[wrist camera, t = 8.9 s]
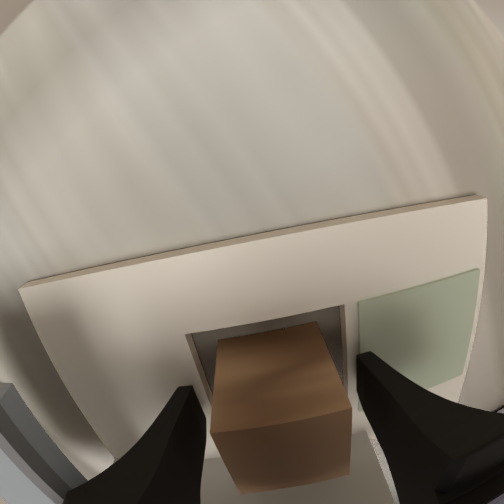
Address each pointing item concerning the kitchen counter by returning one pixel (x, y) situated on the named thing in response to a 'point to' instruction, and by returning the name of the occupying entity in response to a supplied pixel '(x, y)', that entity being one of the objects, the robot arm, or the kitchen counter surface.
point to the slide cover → (30, 456)
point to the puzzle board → (267, 308)
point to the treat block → (280, 410)
